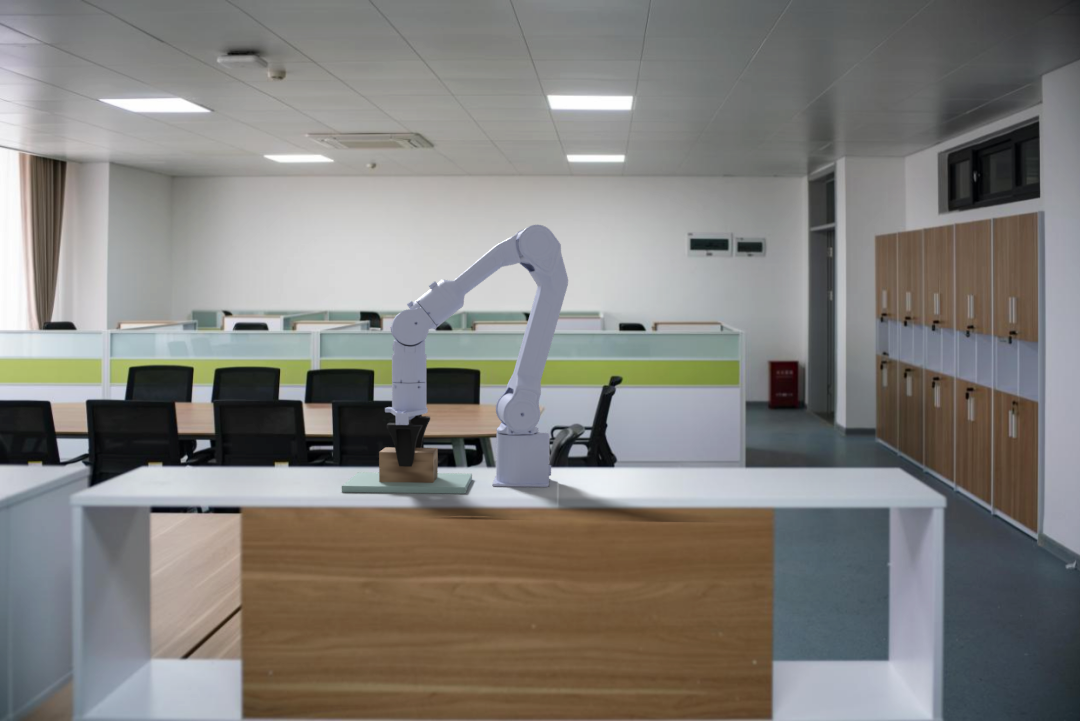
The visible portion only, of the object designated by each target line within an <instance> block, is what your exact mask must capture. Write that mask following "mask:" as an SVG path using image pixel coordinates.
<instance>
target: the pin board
mask: <svg viewBox="0 0 1080 721" xmlns="http://www.w3.org/2000/svg"><path fill="white" fill-rule="evenodd" d="M472 481H473V473H459V472H458V473H453V472H452V473H451V472H449V473H445V472H438V477H437V478H436V480H435V481H434V482H433V483H415V482H379V472H377V471H376V472H374V471H373V472H365V471H364V472H362V471H361V472H360V471H359V472H357V473H356V474H354V475H353V476H352V477H351V478H350V479H348V480H347V481H346V482H344V483H343V484H342V485H341V493H389V494H390V493H391V494H393V493H396V494H397V493H400V494H401V493H403V494H407V493H408V494H466V492H467V490H468V489H469V487H470V484H471V482H472Z"/></svg>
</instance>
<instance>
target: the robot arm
mask: <svg viewBox="0 0 1080 721" xmlns="http://www.w3.org/2000/svg"><path fill="white" fill-rule="evenodd" d="M563 258H564V257H563V255H562V244H561V242H560V241H559V239H557V237H556V236H555V234H554V233H553V231H552V230H551V229H550V228H548V227H546V226H544V225H542V224H532V225H529V226H527V227H526V228H525V229H524V228H523V229H521V230H519V231H517V232H516V233H515V234H514V235H512V236H510V237H508V238H506V239H504V240H503V241H501V242H499V243H498V244H495V245H494V246H493V247H491V248H490V249H489V250H488V251H486V252H485V253H484V254H483V255H482V256H481V257H479V258H478V259H477V260H476V261H475V262H474V263H473V264H471V265H470V266H469V267H468V268H466V270H464V271H463V272H461V274H459V275H458V276H457V277H455V279H453V280H450V279H449V280H448V279H440V280H439V281H438V282H436V281H433V282H431V283H430V284H429V285H428V287H429V290H427V291H426V292H424V293H423V294H422V295H421V296H419V297H418V298H417V299H416V300H414V301H412V300H410V301H409V302H407V303H406V306H407V307H408V309H403V310H401V311H400V312H399V313H398V314H396V315H395V317H394V318H393V319H392V322H391V326H390V332H391V335H392V337H393V338H394V339H393V343H392V351H393V353H392V354H391V355H392V356H391V406H388V407H384V412H385V413H391V414H392V415H393V416H395V422H388V423H387V424H386V429H387V431H388V433H389V434H390V437H391V439H392V442H393V445H394V448H395V450H396V455H397V460H398V464H399V466H404V467H411V466H412V464H413V461H414V455H415V448H423V447H422V446H423V441H424V437H425V433H426V430H427V428H428V425H429V423H430V421H431V416H427V415H425V414H428V411H429V410H428V409H429V408H428V407H427V354H426V339H427V337H428V335H429V333H430V332H429V331H430V329H433V330H436V329H437V328H438V327H439V326H441V325H442V324H443V323H445V321H447V320H448V319H450V317H452V316H453V315H454V314H456V313H457V312H458V311H459V310H461V309H462V308H463V307H464V305H465V304H464V302H465V296H466V295H467V294H468V293H469V292H471V291H472V290H473V289H475V288H476V287H477V286H479V285H480V284H481V283H483V282H484V281H485V280H487V279H488V278H489V277H490V276H491V275H493V274H494V273H496V272H497V271H498V270H500V269H501V268H503V267H508V266H513V265H517V264H519V265H521V266H522V267H523V268H524V269H525V270H527V271H528V273H529V274H530V276H531V277H532V279H533V281H534V282H535V284H536V285H537V286H536V291H535V295H534V298H533V302H532V306H531V309H530V313H529V317H528V320H527V323H526V326H525V330H524V334H523V338H522V341H521V344H520V347H519V348H520V349H519V350H518V354H517V355H518V356H517V359H516V362H515V366H514V370H513V373H512V374H511V377H510V379H509V380H508V383H507V385H506V389H504V392H503V393H502V394H501V395H500V397H499V398H497V401H496V405H495V413H496V416H497V418H498V420H499V421H500V422H501V423H500V424H499V426H498V427H497V428H496V442H495V444H496V446H495V447H496V450H495V453H496V457H495V460H496V461H495V462H496V463H495V464H496V466H495V467H496V470H495V472H496V473H495V474H496V475H495V476H494V478H493V482H492V484H491V485H492V487H503V488H504V487H511V488H513V487H515V488H517V487H518V488H519V487H521V488H523V487H525V488H530V487H531V488H549V487H550V476H552V464H550V433H549V432H539V427H537V425H538V424H539V422H540V418H541V409H540V398H541V394H542V388H541V387H542V385H541V381H542V378H543V373H544V372H545V367H546V364H547V359H548V357H549V353H550V349H551V346H552V342H553V338H554V335H555V331H556V328H557V325H558V321H559V317H560V315H561V310H562V307H563V304H564V300H565V297H566V293H567V290H568V285H569V277H568V273H567V269H566V266H565V262H564V259H563ZM424 415H425V416H424Z"/></svg>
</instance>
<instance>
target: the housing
mask: <svg viewBox="0 0 1080 721" xmlns="http://www.w3.org/2000/svg"><path fill="white" fill-rule="evenodd" d="M438 449H439V448H438V447H422V448H415V455H414V461H413V464H412V466H411V467H404V466H399V464H398V460H397V455H396V450H395V447H389V446H388V447H387V446H386V447H384V448H383V449H382V450H380V451H378V454H379V455H378V458H379V459H378V464H379V465H378V467H379V468H378V471H379V482H415V483H433V482H434V481H435V480H436V478H437V477H438V473H439V472H438V471H439V470H438V468H439V466H438V462H439V458H438V453H439V452H438V451H439V450H438Z"/></svg>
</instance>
